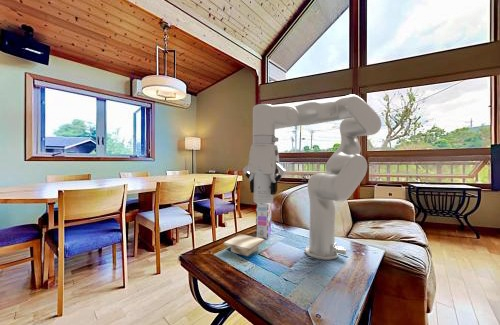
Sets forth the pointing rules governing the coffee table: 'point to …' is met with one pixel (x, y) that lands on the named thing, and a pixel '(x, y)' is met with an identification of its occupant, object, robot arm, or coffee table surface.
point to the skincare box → (262, 187)
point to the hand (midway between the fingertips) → (263, 192)
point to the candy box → (263, 220)
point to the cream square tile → (244, 244)
